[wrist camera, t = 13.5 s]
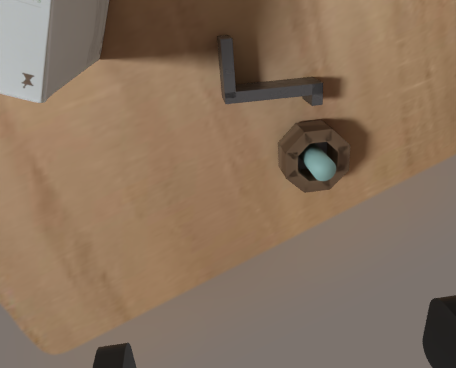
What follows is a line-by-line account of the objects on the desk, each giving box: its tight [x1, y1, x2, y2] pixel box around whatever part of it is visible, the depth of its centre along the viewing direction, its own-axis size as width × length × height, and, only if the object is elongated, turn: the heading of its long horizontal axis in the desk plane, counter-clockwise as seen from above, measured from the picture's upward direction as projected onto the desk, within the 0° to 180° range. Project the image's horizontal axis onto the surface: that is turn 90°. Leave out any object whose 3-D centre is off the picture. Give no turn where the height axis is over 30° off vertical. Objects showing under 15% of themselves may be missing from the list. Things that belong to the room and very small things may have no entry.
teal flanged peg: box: [298, 142, 336, 181], centre depth 39 cm, size 5×5×6 cm
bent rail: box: [217, 35, 323, 106], centre depth 36 cm, size 6×9×3 cm
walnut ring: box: [278, 120, 350, 193], centre depth 39 cm, size 6×6×3 cm
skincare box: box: [0, 0, 109, 103], centre depth 26 cm, size 8×7×16 cm
